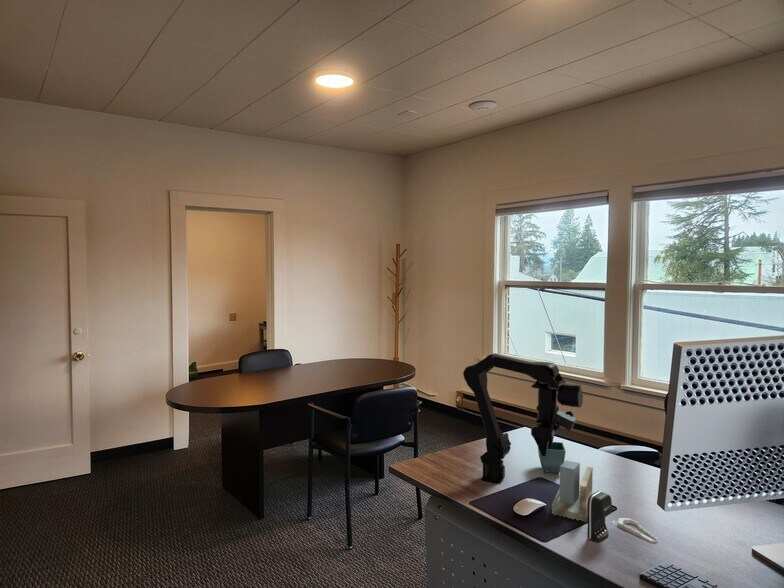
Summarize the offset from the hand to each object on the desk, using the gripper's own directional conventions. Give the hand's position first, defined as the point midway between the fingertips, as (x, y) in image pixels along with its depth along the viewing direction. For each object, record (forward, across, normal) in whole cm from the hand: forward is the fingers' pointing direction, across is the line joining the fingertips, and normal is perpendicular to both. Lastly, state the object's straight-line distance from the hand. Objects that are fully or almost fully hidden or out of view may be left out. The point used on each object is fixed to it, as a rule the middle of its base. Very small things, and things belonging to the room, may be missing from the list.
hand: (546, 451), depth 160 cm
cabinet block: (+11, -7, -8) cm, 15 cm away
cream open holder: (+13, -7, -9) cm, 17 cm away
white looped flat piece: (+14, -13, -26) cm, 33 cm away
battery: (+13, -22, -18) cm, 31 cm away
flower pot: (+13, +19, +2) cm, 23 cm away
